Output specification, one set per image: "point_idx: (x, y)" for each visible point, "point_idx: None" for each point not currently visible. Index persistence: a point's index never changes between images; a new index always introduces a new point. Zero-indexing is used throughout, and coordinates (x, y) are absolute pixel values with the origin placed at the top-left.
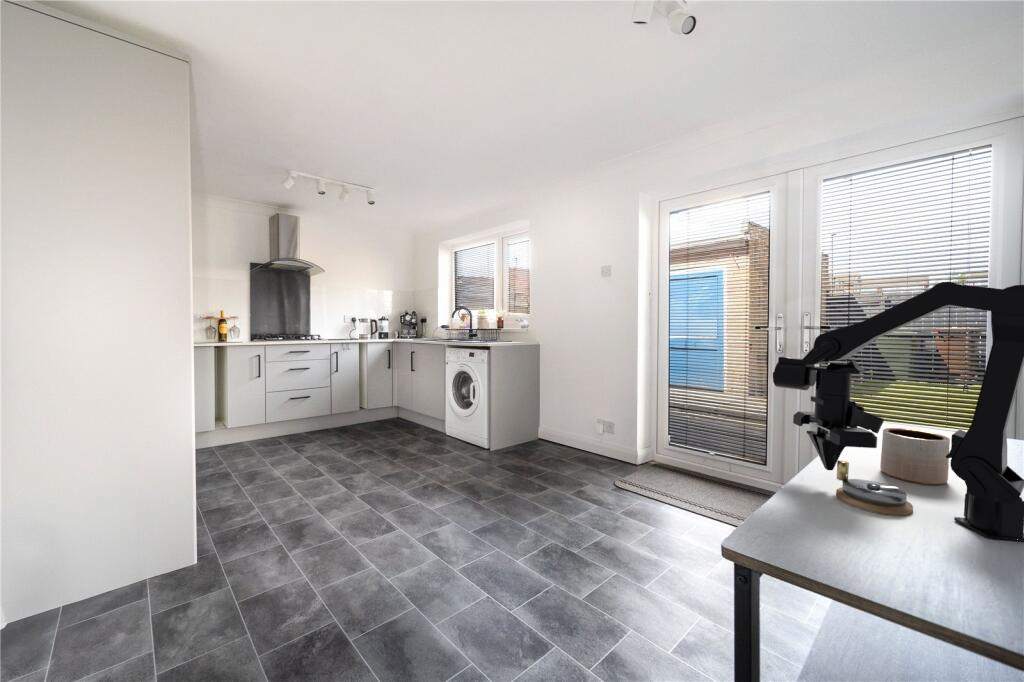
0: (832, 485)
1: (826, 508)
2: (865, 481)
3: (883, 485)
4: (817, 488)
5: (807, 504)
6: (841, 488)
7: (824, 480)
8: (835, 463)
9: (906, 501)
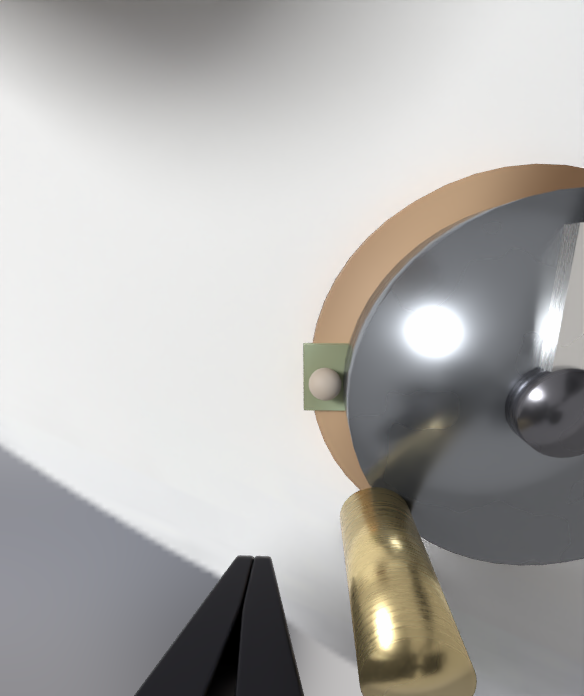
0: (239, 441)
1: (573, 622)
2: (396, 374)
3: (484, 281)
4: (308, 538)
5: (529, 669)
6: (356, 470)
7: (160, 442)
8: (282, 615)
9: (555, 176)
